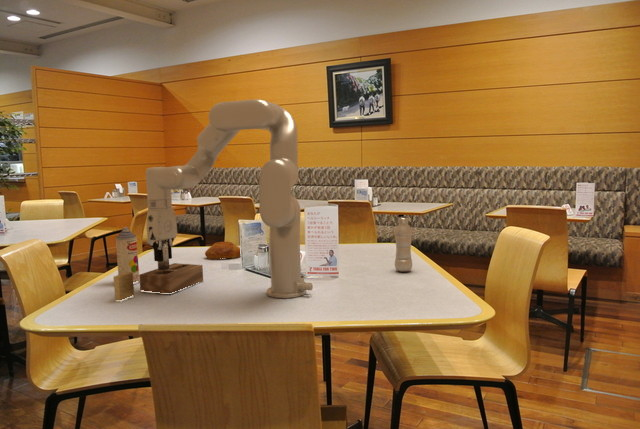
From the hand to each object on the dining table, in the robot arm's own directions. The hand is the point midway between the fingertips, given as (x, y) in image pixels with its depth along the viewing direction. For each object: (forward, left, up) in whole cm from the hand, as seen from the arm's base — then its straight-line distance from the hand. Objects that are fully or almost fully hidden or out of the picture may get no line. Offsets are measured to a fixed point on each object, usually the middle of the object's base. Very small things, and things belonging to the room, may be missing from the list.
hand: (163, 259), depth 165 cm
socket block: (0, -4, -10) cm, 11 cm away
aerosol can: (+19, -4, -11) cm, 22 cm away
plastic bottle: (-70, -47, -11) cm, 85 cm away
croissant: (+11, -54, -11) cm, 56 cm away
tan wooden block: (+5, +13, -10) cm, 17 cm away
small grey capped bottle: (0, 0, -3) cm, 3 cm away
